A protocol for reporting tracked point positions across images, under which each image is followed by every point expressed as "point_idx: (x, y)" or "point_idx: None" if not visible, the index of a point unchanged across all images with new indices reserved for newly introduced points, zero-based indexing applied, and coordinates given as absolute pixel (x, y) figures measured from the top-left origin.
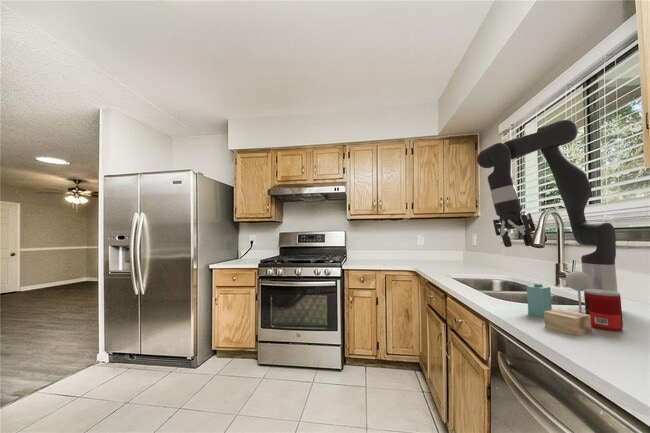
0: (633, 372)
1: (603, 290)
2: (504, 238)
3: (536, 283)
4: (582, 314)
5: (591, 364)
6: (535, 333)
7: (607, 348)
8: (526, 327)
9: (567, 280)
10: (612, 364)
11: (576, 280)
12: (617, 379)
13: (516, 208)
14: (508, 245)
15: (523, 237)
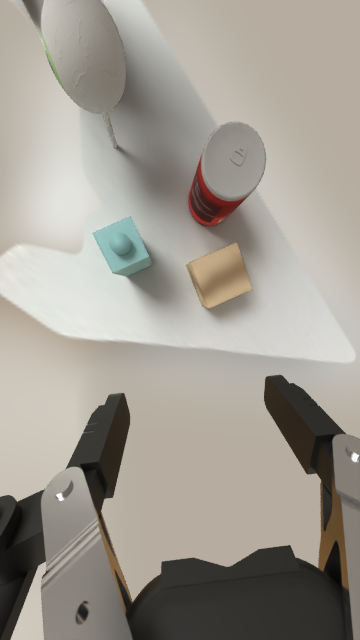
0: (330, 324)
1: (219, 134)
2: (115, 480)
3: (111, 242)
4: (232, 253)
5: (310, 348)
6: (226, 340)
7: (281, 290)
8: (201, 335)
9: (84, 99)
10: (314, 327)
11: (111, 88)
12: (336, 351)
13: None
14: (125, 414)
15: (300, 454)
